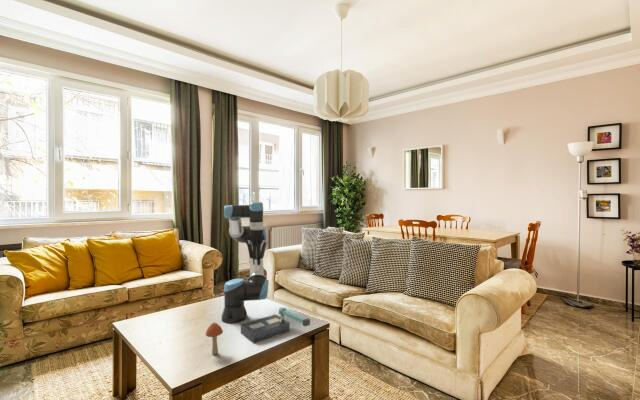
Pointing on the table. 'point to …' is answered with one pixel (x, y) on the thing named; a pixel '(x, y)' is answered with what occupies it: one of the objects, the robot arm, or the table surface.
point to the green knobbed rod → (294, 317)
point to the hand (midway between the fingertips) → (256, 270)
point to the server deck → (265, 328)
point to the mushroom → (214, 335)
